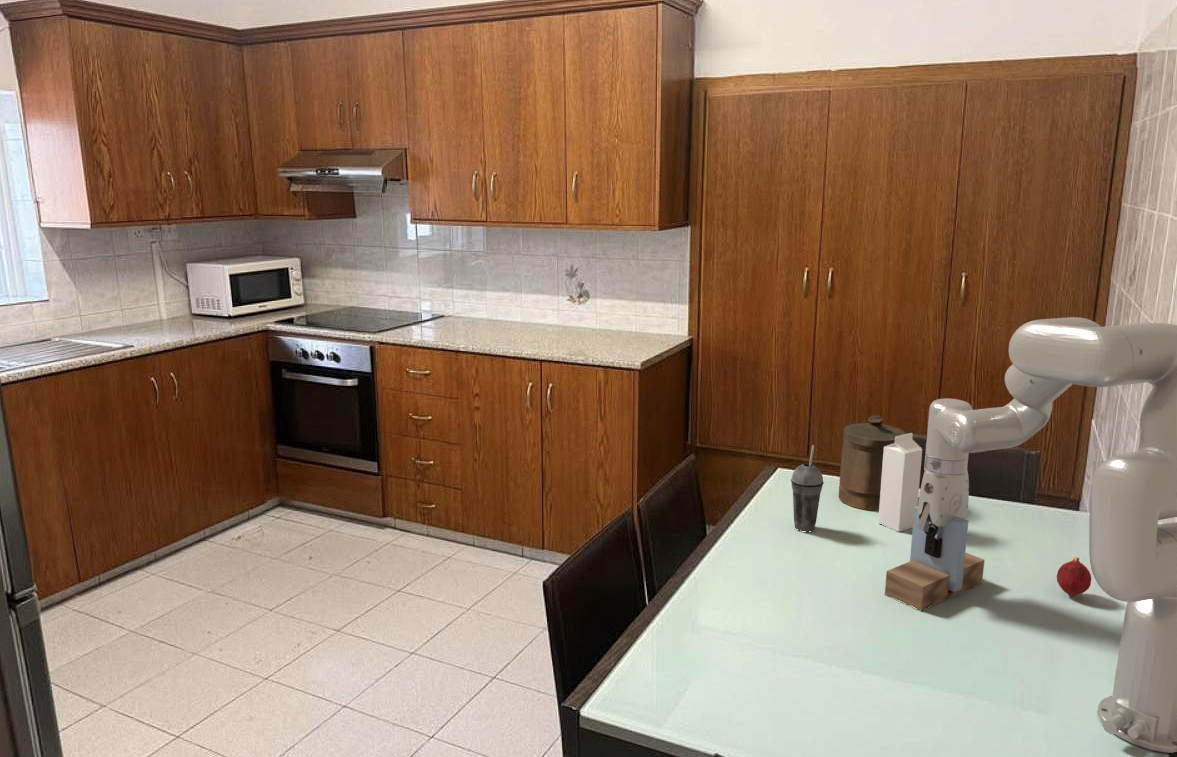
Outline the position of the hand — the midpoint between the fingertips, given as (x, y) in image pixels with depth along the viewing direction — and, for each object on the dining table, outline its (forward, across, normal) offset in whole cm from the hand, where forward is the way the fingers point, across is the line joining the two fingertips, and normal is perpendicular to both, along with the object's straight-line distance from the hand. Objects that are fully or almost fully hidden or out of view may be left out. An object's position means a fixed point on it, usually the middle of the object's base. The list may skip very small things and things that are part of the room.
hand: (937, 552), depth 167 cm
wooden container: (+8, +29, +38) cm, 48 cm away
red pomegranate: (+8, +19, -17) cm, 27 cm away
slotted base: (+8, 0, 0) cm, 8 cm away
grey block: (+6, 0, 0) cm, 6 cm away
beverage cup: (+8, +2, +35) cm, 36 cm away
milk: (+8, +21, +24) cm, 33 cm away
